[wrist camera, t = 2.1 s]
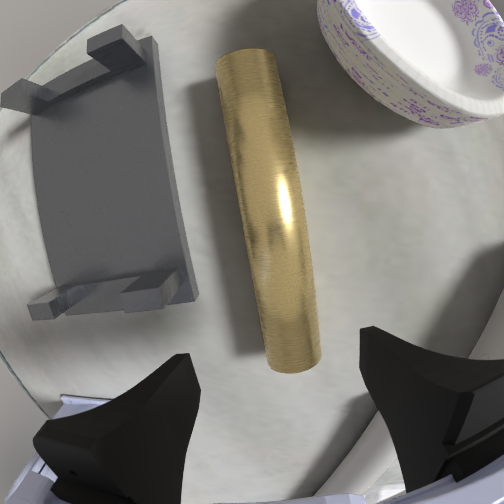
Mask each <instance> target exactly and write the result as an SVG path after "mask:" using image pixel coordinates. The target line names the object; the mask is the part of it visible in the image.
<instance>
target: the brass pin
mask: <svg viewBox="0 0 504 504" xmlns="http://www.w3.org/2000/svg"><path fill="white" fill-rule="evenodd" d="M215 72H216V77H217V83H218V89H219V95H220V100H221V106H222V112H223V118H224V123H225V129H226V135H227V140H228V146H229V152H230V157H231V163H232V169H233V174H234V180H235V186H236V191H237V197H238V203H239V208H240V214H241V219H242V225H243V230H244V236H245V242H246V247H247V253H248V258H249V264H250V269H251V275H252V280H253V286H254V291H255V297H256V302H257V308H258V313H259V319H260V324H261V329H262V335H263V340H264V346H265V351H266V357H267V362H268V365H269V367H270V368H271V369H273V370H275V371H277V372H281V373H299V372H303V371H306V370H308V369H310V368H312V367H314V366H315V365H316V364H317V363H318V362H319V361H320V359H321V344H320V332H319V321H318V311H317V302H316V292H315V283H314V275H313V267H312V259H311V251H310V244H309V236H308V229H307V222H306V216H305V209H304V203H303V196H302V190H301V184H300V178H299V173H298V167H297V161H296V156H295V150H294V145H293V140H292V135H291V129H290V124H289V119H288V115H287V110H286V105H285V100H284V96H283V91H282V87H281V82H280V78H279V74H278V69H277V65H276V61H275V57H274V55H273V53H271V52H270V51H268V50H265V49H259V48H248V49H241V50H236V51H233V52H230V53H228V54H226V55H224V56H222V57H220V58H219V59H218V60H217V61H216V63H215Z"/></svg>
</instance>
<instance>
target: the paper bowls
mask: <svg viewBox="0 0 504 504" xmlns="http://www.w3.org/2000/svg"><path fill="white" fill-rule="evenodd" d="M317 16H318V22H319V26H320V28H321V31H322V34H323V36H324V37H325V41H326V42H327V43H328V46H329V48H330V49H331V51H332V53H333V54H334V56H335V58H336V59H337V61H338V62H339V63H340V64H341V65H342V67H343V68H344V70H345V71H347V73H348V74H349V75H350V77H351V78H352V79H354V80H355V82H356V83H357V84H358V85H359V86H360V87H362V88H363V89H364V90H365V91H366V92H367V93H368V94H370V96H371V97H373V98H374V99H375V100H377V101H379V102H380V103H382V104H383V105H385V106H386V107H388V108H389V109H391V110H392V111H394V112H396V113H398V114H399V115H401V116H404V117H406V118H407V119H409V120H412V121H414V122H416V123H419V124H422V125H425V126H429V127H432V128H441V129H444V128H455V127H462V126H466V125H470V124H474V123H478V122H481V121H483V120H486V119H492V118H496V117H498V116H501V115H502V114H504V22H503V20H502V18H501V17H500V15H499V14H498V12H497V11H496V9H495V8H494V7H493V5H492V4H491V3H490V1H489V0H317Z"/></svg>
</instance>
